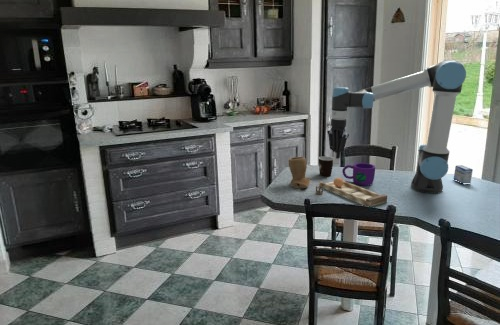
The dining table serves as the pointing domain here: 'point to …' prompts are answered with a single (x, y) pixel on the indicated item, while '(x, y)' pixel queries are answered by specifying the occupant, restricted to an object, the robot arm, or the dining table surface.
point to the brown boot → (298, 172)
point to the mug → (361, 173)
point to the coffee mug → (325, 166)
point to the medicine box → (463, 174)
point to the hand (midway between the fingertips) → (335, 163)
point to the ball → (338, 182)
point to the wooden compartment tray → (355, 193)
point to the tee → (319, 191)
